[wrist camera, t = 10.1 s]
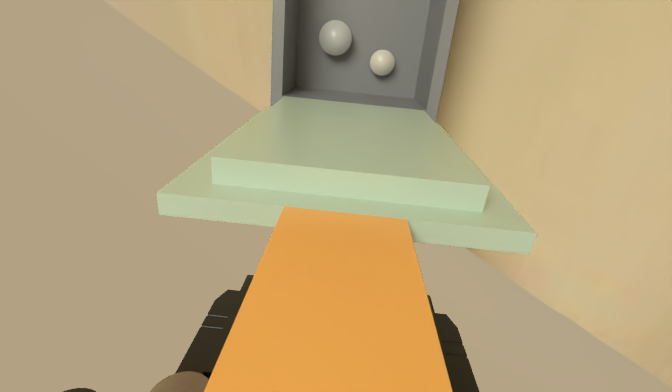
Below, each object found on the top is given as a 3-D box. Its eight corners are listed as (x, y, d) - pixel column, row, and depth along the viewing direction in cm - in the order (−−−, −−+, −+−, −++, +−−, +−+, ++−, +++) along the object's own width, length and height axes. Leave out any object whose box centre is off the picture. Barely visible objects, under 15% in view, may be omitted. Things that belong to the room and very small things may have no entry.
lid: (792, 426, 5) (659, 571, 7) (441, 109, 26) (430, 162, 28) (-105, 324, 5) (-18, 490, 7) (267, 91, 26) (267, 145, 28)
